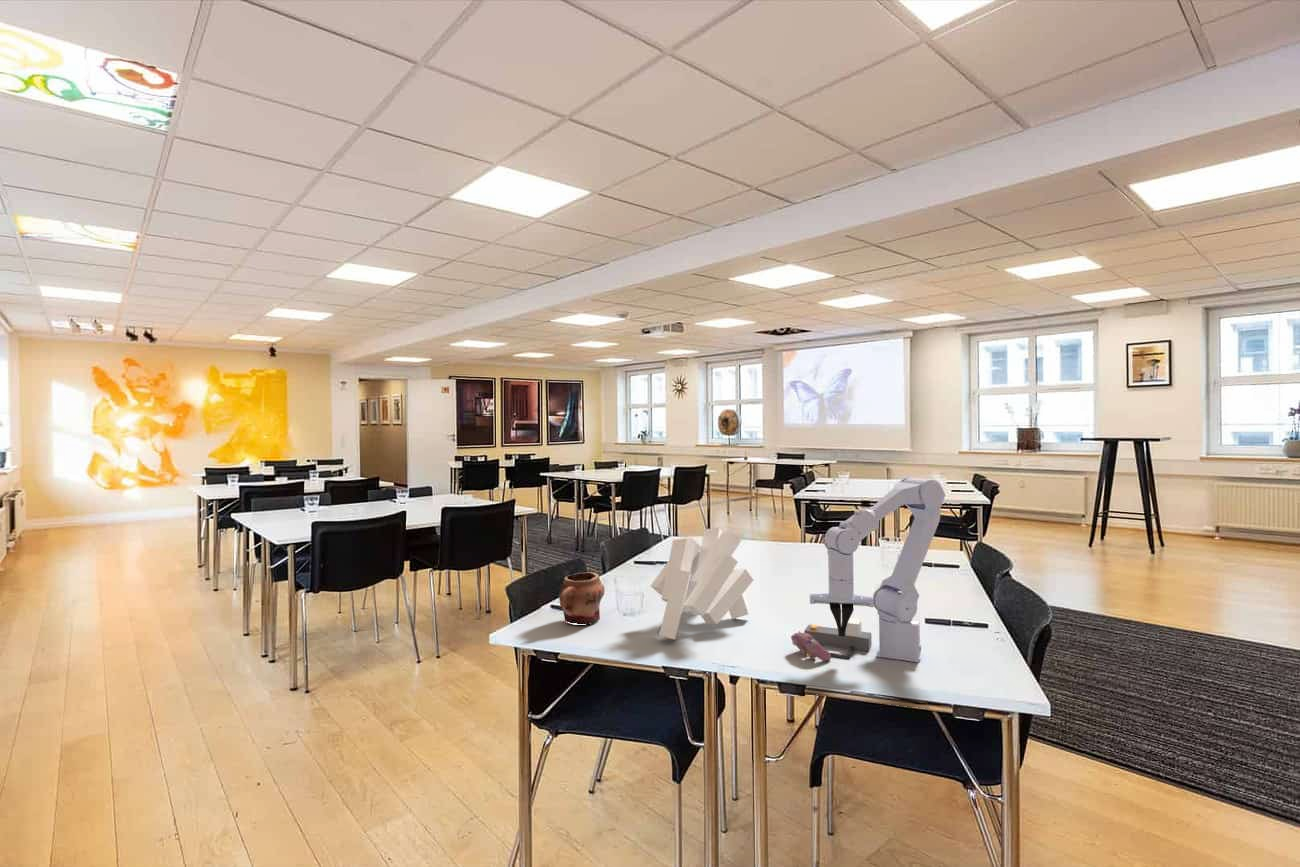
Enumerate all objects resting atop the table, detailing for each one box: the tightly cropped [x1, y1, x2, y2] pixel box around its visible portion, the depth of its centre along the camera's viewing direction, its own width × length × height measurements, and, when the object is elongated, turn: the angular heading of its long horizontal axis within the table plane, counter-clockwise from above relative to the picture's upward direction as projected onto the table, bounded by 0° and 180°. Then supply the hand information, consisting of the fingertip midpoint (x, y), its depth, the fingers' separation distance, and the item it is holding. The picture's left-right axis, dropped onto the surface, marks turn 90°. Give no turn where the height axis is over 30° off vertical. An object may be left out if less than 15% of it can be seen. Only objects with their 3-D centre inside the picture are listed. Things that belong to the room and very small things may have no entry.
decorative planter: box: [558, 571, 605, 625], centre depth 180 cm, size 20×12×14 cm, turn 160°
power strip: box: [803, 617, 873, 660], centre depth 156 cm, size 16×12×6 cm
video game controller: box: [790, 630, 832, 662], centre depth 151 cm, size 10×5×7 cm, turn 21°
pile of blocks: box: [650, 527, 754, 640], centre depth 178 cm, size 35×30×35 cm
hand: (841, 634), depth 147 cm, fingers closed
